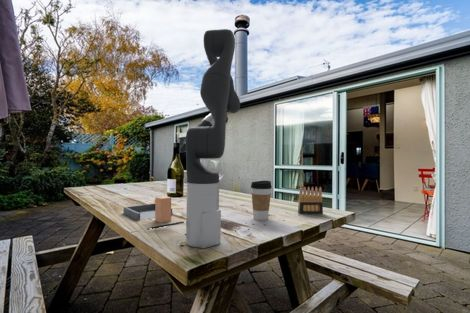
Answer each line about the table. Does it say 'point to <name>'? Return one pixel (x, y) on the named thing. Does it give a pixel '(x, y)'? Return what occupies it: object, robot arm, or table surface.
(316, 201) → the ammunition clip
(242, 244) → the table surface
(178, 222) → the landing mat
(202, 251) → the table surface
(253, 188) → the coffee cup
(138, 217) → the grey square tray
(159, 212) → the block
